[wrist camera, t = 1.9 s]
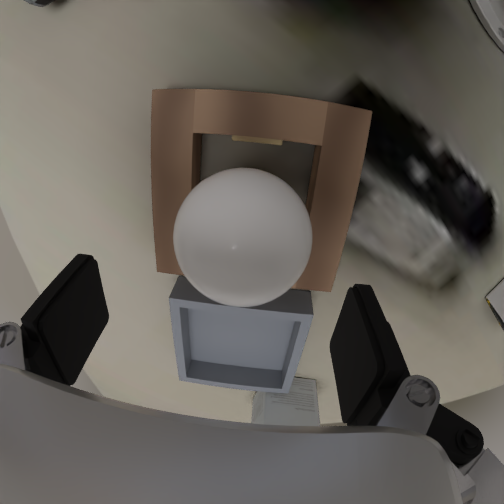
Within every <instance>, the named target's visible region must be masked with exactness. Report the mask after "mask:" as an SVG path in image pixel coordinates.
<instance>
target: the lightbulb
mask: <svg viewBox="0 0 504 504" xmlns="http://www.w3.org/2000/svg"><path fill="white" fill-rule="evenodd" d="M312 241H313V234H312V225H311V220H310V217H309V214H308V211H307V209H306V207H305V205H304V203H303V201H302V200H301V198H300V197H299V195H298V194H297V193H296V192H295V190H294V189H293V188H292V187H291V186H290V185H288V184H287V183H286V182H285V181H283V180H282V179H280V178H279V177H277V176H275V175H273V174H271V173H269V172H266V171H263V170H259V169H254V168H232V169H227V170H223V171H220V172H217V173H215V174H213V175H211V176H209V177H207V178H206V179H204V180H203V181H201V182H200V183H199V184H197V185H196V186H195V187H194V188H193V189H192V190H191V191H190V193H189V194H188V195H187V196H186V198H185V199H184V201H183V203H182V204H181V206H180V208H179V211H178V213H177V216H176V219H175V223H174V230H173V245H174V251H175V256H176V259H177V262H178V264H179V266H180V269H181V271H182V272H183V274H184V276H185V277H186V278H187V280H188V281H189V282H190V283H191V285H192V286H193V287H194V288H195V289H197V290H198V291H199V292H200V293H201V294H203V295H204V296H206V297H208V298H209V299H211V300H213V301H216V302H218V303H221V304H224V305H228V306H234V307H252V306H258V305H262V304H265V303H268V302H270V301H272V300H274V299H276V298H278V297H280V296H281V295H283V294H284V293H285V292H287V291H288V290H289V289H290V288H291V287H292V286H293V285H294V284H295V283H296V282H297V281H298V279H299V278H300V277H301V275H302V273H303V272H304V270H305V268H306V266H307V263H308V261H309V258H310V254H311V250H312Z"/></svg>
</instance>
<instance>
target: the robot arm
mask: <svg viewBox="0 0 504 504" xmlns="http://www.w3.org/2000/svg"><path fill="white" fill-rule="evenodd" d="M470 2H471V4H472V7H473V9H474V11H475V12H476V14H477V16H478V18H479V19H480V21H481V23H482V24H483V26H484V27H485V29H486V30H487V32H488V33H489V35H490V36H491V37H492V39H493V40H494V41H495V42H496V44H497V45H498V46H499V47H500V48H501V49H502V50H503V51H504V0H470ZM108 319H109V313H108V309H107V305H106V300H105V296H104V292H103V287H102V283H101V278H100V273H99V268H98V263H97V261H96V260H94V258H93V256H92V255H86V254H78V255H76V256H75V257H74V258H73V260H72V261H71V262H70V263H69V264H68V265H67V266H66V267H65V268H64V269H63V270H62V271H61V272H60V273H59V275H58V276H57V277H56V278H55V279H54V280H53V281H52V282H51V283H50V285H49V286H48V287H47V288H46V289H45V290H44V291H43V293H42V294H41V295H40V296H39V297H38V298H37V300H36V301H35V302H34V303H33V305H32V306H31V307H30V308H29V309H28V310H27V312H26V313H25V314H24V316H23V317H22V318H21V321H22V326H21V327H20V326H19V325H18V324H16V323H14V322H6V323H3V324H0V504H504V465H503V464H502V463H501V462H500V461H499V460H498V458H497V457H496V456H495V455H494V454H493V453H492V452H491V451H490V450H489V448H487V449H486V450H484V449H483V445H484V441H483V436H482V434H481V432H480V431H479V429H478V428H477V427H476V426H474V425H473V424H471V423H470V422H468V421H466V420H465V419H463V418H462V417H460V416H458V415H457V414H455V413H454V412H452V411H450V410H449V409H447V408H445V407H444V406H442V405H441V404H439V401H440V393H439V390H438V388H437V386H436V385H435V384H434V383H433V382H432V381H431V380H430V379H428V378H426V377H424V376H420V375H412V376H410V373H409V371H408V368H407V365H406V363H405V360H404V358H403V355H402V353H401V350H400V348H399V345H398V343H397V340H396V338H395V335H394V333H393V331H392V328H391V326H390V324H389V322H387V321H386V318H385V316H384V314H383V311H382V309H381V307H380V305H379V302H378V300H377V298H376V296H375V293H374V291H373V289H372V287H371V285H364V284H355V285H354V286H353V288H352V287H350V288H349V289H348V291H347V294H346V297H345V300H344V304H343V306H342V309H341V312H340V315H339V318H338V321H337V324H336V327H335V329H334V332H333V335H332V338H331V341H330V353H331V358H332V363H333V369H334V374H335V380H336V386H337V392H338V398H339V404H340V410H341V416H342V421H343V423H347V426H286V425H266V424H252V423H241V422H231V421H223V420H215V419H207V418H200V417H194V416H187V415H182V414H176V413H171V412H165V411H160V410H155V409H151V408H146V407H142V406H137V405H133V404H129V403H125V402H121V401H117V400H114V399H110V398H106V397H102V396H99V395H95V394H92V393H89V392H86V391H83V390H79V389H76V388H74V387H71V386H70V385H73V384H74V383H75V381H76V380H77V378H78V375H79V374H80V372H81V370H82V368H83V366H84V364H85V362H86V360H87V358H88V357H89V355H90V353H91V351H92V349H93V347H94V346H95V344H96V342H97V340H98V338H99V337H100V335H101V333H102V331H103V330H104V328H105V326H106V324H107V322H108Z"/></svg>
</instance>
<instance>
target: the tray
mask: <svg viewBox="0 0 504 504" xmlns="http://www.w3.org/2000/svg"><path fill="white" fill-rule="evenodd" d="M169 303H170V313H171V322H172V330H173V339H174V346H175V354H176V361H177V368H178V374H179V380H181V381H186V382H192V383H198V384H205V385H211V386H218V387H225V388H233V389H242V390H251V391H261V392H273V393H287V394H288V393H289V390H290V387H291V384H292V381H293V378H294V376H295V373H296V370H297V367H298V364H299V360H300V357H301V354H302V351H303V348H304V345H305V342H306V338H307V335H308V332H309V329H310V325H311V322H312V319H313V307H312V300H311V292H310V291H305V290H295V289H289V290H288V291H287V292H285V293H284V294H283V295H281V296H280V297H278V298H276V299H274V300H272V301H270V302H268V303H265V304H262V305H258V306H252V307H234V306H228V305H224V304H221V303H218V302H216V301H213V300H211V299H209V298H208V297H206V296H204V295H203V294H201V293H200V292H199V291H198V290H197V289H195V288H194V287H193V286H192V285H191V283H190V282H189V281H188V280H187V278H186V277H185V276H179V277H178V279H177V281H176V283H175V286H174V288H173V290H172V292H171V294H170V297H169Z"/></svg>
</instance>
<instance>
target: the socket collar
mask: <svg viewBox="0 0 504 504" xmlns="http://www.w3.org/2000/svg"><path fill="white" fill-rule="evenodd" d="M371 116H372V111H369V110H365V109H361V108H356V107H352V106H347V105H342V104H337V103H332V102H326V101H320V100H314V99H308V98H302V97H295V96H287V95H279V94H270V93H260V92H249V91H235V90H215V89H155V90H152V112H151V182H152V208H153V226H154V240H155V253H156V264H157V272H162V273H169V274H177V275H184V274H183V272H182V271H181V269H180V266H179V264H178V262H177V259H176V256H175V251H174V245H173V230H174V223H175V219H176V216H177V213H178V211H179V208H180V206H181V204H182V203H183V201H184V199H185V198H186V196H187V195H188V194H189V193H190V191H191V190H192V189H193V188H194V187H195V186H196V185H197V184H199V183H200V168H201V145H202V133H207V134H223V135H232V140H234V141H246V142H256V143H265V144H274V145H282V140H284V141H292V142H299V143H306V144H313V145H315V151H314V157H313V164H312V170H311V176H310V182H309V188H308V194H307V200H306V206H305V207H306V209H307V211H308V214H309V217H310V220H311V225H312V234H313V241H312V250H311V254H310V258H309V261H308V263H307V266H306V268H305V270H304V272H303V273H302V275H301V277H300V278H299V279H298V281H297V282H296V283H295V284H294V285H293V286H292V287H291V288H295V289H305V290H315V291H325V292H331V290H332V286H333V283H334V280H335V276H336V273H337V269H338V265H339V262H340V258H341V255H342V251H343V247H344V243H345V239H346V236H347V232H348V228H349V224H350V220H351V215H352V211H353V207H354V203H355V198H356V194H357V189H358V185H359V180H360V175H361V171H362V166H363V161H364V156H365V150H366V145H367V139H368V134H369V128H370V122H371Z"/></svg>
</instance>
